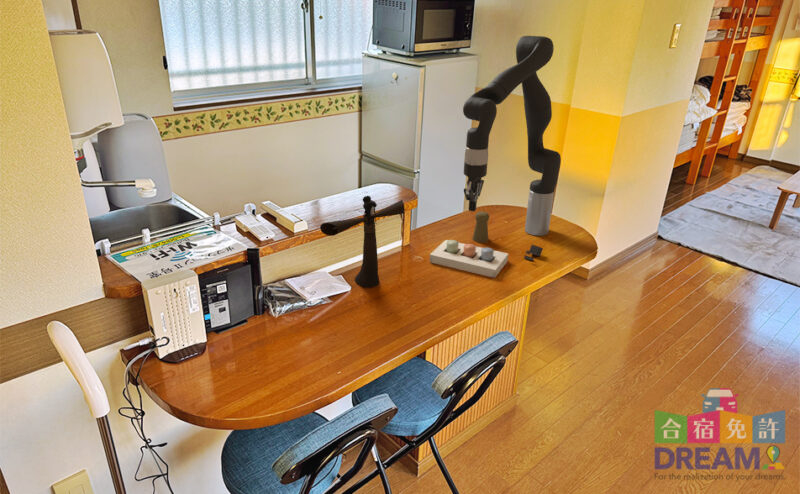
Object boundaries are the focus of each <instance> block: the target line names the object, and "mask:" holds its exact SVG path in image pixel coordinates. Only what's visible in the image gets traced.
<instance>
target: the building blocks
mask: <svg viewBox="0 0 800 494" xmlns="http://www.w3.org/2000/svg"><path fill="white" fill-rule="evenodd" d="M543 249H544V248H543V247H541V246H538V245H535V244H531V245H530V248H529V250H526V251H525V254H526V255H524V256H523V259H526V260H529V261H531V262H533V261H534V259H535V258H534V257H531V256H529V255H531V254H532V255H534V256H538V257H541V255H542V253H543Z"/></svg>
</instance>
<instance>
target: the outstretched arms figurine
mask: <svg viewBox="0 0 800 494" xmlns="http://www.w3.org/2000/svg"><path fill="white" fill-rule="evenodd" d="M362 202H363V204H362V207H363V209H364V213H363V216H362V217H356V218H355V217H354V218H349V219H348V218H347V219H342V220H334V221H329V222H323V223H321V224H320V226H319V229H320V231H321V233H322V234H324V235H326V236H329V237H333V236H336V235H338V234H340V233H342V232H344V231H347V230H349V229H351V228H353V227H356V226H357V225H360V224H361V223H363V245H362V250H363V252H362V262H361V263H362V264H361V267H360V270H359V272H358V273H357V274H356V276H354V281H355V282H356V284H357V285H359V286H360V287H363V288H375V287H377V286H379V285H380V283H381V282H380V278H379V264H378V261H379V260H378V244H377V235H376V230H377V229H376V225H377V218H384V217H389V216H390V217H391V216H398V215H403V214H405V211H406V209H405V202H404V201H403V200H402V199H401V200H399V201H396V202H395V203H393V204H391V205H389V206H387V207H384V208H382V209H381V210H378V211H377V212H376V207H377V205H378V203H377V202H376V201H374V200H373V199H372V198H371V195H364V197H363V198H362Z"/></svg>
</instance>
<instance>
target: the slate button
mask: <svg viewBox="0 0 800 494" xmlns="http://www.w3.org/2000/svg"><path fill="white" fill-rule="evenodd" d="M481 248H482V249H481V258H480V260H483V261H487V262H492V261H493V260H494V259H493V253H494V251H495V250H494V249H493V248H491V247H481Z"/></svg>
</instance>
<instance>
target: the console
mask: <svg viewBox="0 0 800 494" xmlns="http://www.w3.org/2000/svg"><path fill="white" fill-rule="evenodd" d="M449 240H450V239H449ZM449 240H448V239H445V240H444V241H442V243H441V244H439V245H438V246H437V247H436V248H435V249H433V251H432V252H431V253H430V254H429V263H432V264H436V265H440V266H444V267H449V268H452V269H456V270H460V271H464V272H469V273H473V274H477V275H482V276H485V277H489V278H490V277H491V278H494V279H495V278H496V277H497V275H498V274H499V273H500V272H501V271H502V269H503V268H504V267H505V265H506V264H507V263H508V261H509V253H506V252H502V251H500V250H494V253H493V261H492V262H487V261H483V260H481V249H482V248H483V247H482V246H476V252H475V257H474V258H470V257H465V256H463V250H464V245H465V244H466V243H462V242H458V253H457V254H452V253H448V252H446V245H447V241H449Z"/></svg>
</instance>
